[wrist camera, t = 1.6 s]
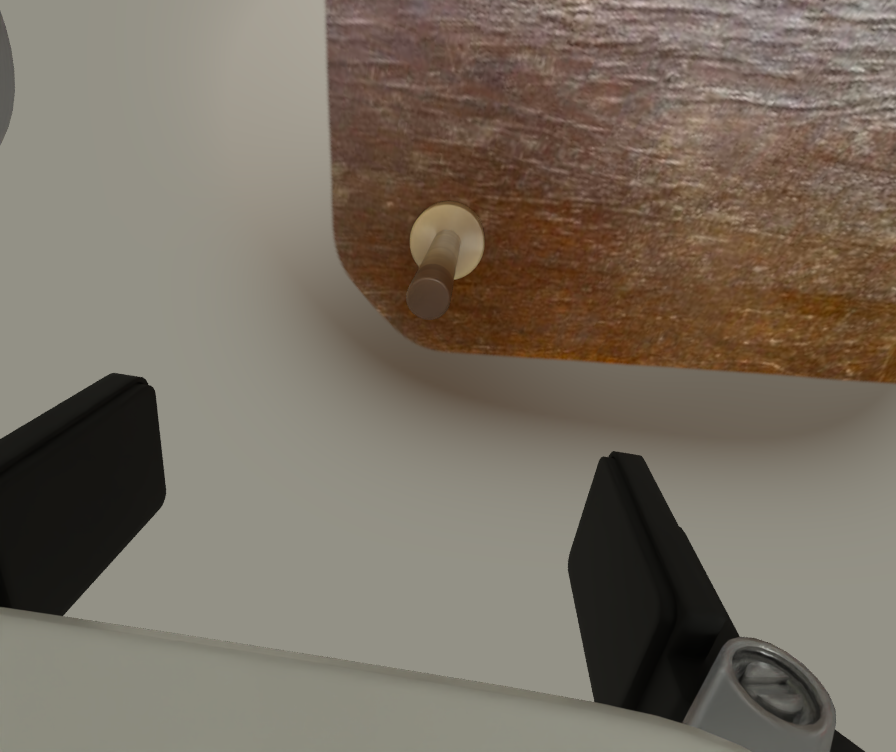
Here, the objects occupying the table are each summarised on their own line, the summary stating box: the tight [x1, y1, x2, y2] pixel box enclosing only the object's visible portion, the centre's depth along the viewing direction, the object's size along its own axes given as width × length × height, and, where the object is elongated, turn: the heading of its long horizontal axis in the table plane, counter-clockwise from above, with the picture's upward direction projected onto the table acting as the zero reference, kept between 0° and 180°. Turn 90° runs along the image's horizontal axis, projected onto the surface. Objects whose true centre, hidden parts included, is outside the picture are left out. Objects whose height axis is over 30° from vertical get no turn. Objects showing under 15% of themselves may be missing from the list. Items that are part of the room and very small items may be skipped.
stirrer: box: [406, 201, 485, 320], centre depth 25 cm, size 4×4×14 cm
